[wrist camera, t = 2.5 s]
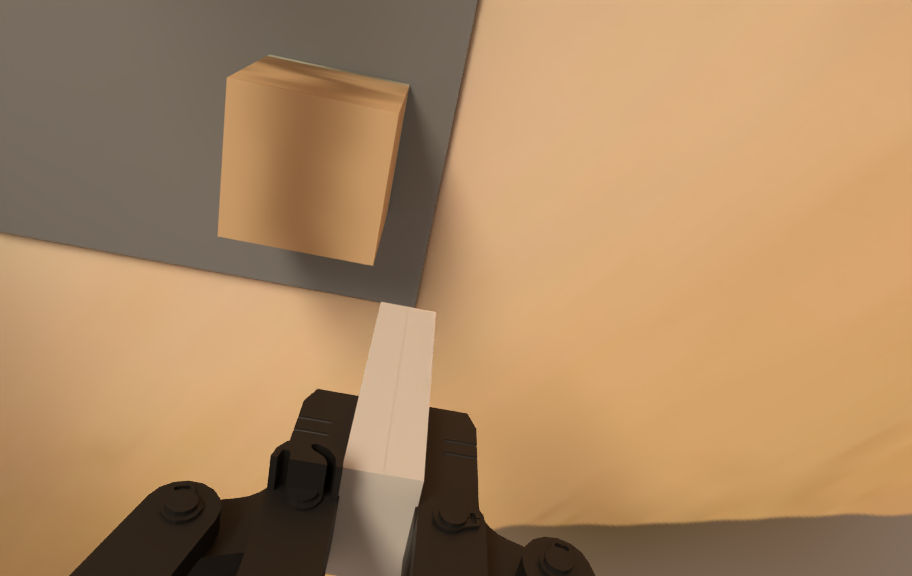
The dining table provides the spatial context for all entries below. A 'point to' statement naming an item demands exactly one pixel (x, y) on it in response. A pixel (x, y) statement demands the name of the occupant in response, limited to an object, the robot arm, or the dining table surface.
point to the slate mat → (208, 124)
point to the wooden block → (309, 157)
